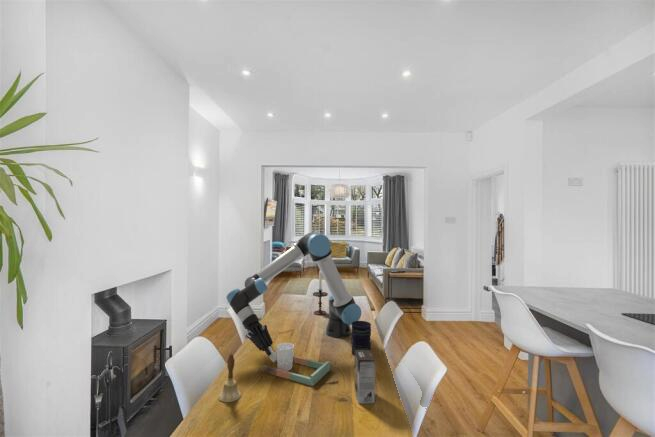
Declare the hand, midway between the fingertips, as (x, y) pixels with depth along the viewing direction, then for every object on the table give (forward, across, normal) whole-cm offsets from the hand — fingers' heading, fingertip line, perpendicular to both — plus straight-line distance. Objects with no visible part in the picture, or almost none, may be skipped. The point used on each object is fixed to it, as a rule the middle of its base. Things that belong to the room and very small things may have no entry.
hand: (275, 360), depth 143 cm
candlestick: (-13, -82, -18) cm, 85 cm away
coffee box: (+34, +4, +30) cm, 45 cm away
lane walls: (+3, -1, -1) cm, 3 cm away
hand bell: (+2, +28, -2) cm, 28 cm away
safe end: (+14, -1, +10) cm, 18 cm away
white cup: (+5, -1, +1) cm, 6 cm away
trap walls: (+9, -1, +5) cm, 10 cm away
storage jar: (+23, -32, +19) cm, 44 cm away
